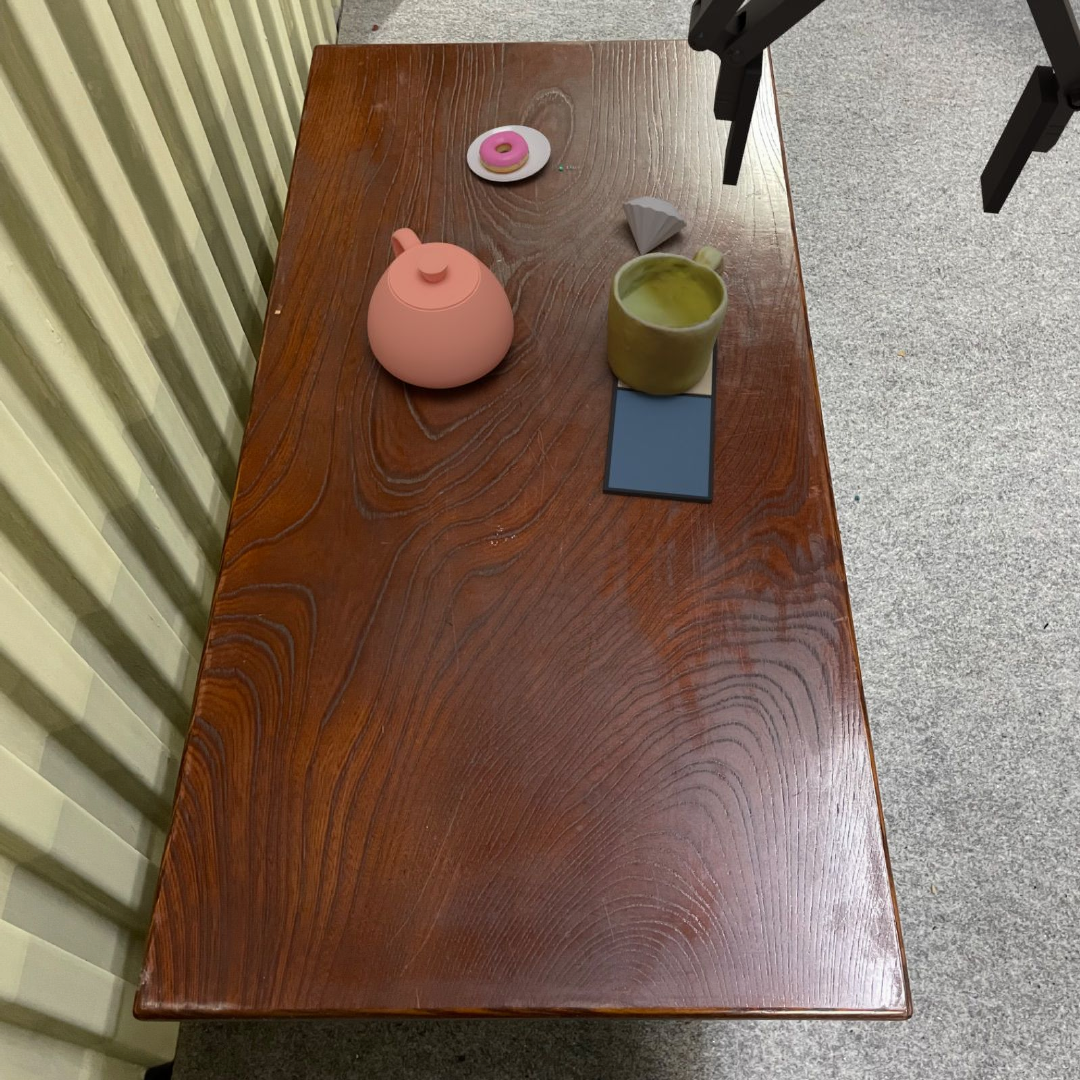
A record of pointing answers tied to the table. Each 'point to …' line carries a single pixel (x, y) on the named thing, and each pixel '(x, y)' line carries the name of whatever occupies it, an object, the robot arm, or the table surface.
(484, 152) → the donut
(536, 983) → the table surface
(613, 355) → the mug
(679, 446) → the sorting mat
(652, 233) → the gemstone
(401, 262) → the sugar bowl
